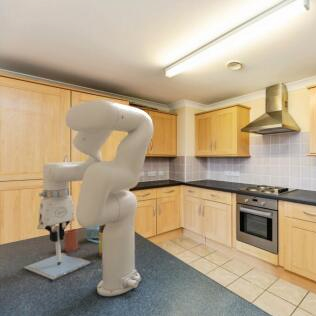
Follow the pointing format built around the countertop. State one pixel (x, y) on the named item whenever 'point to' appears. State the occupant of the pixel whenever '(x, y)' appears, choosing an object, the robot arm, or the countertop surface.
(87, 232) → the chair
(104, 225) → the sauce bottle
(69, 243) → the pen pot
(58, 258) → the stylus
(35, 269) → the plate
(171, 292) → the countertop surface
